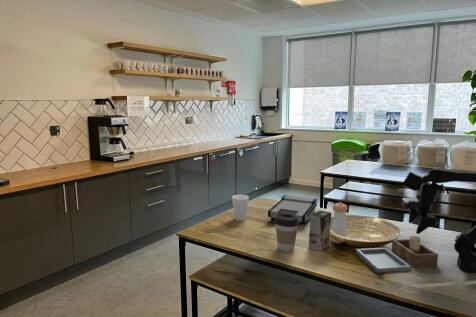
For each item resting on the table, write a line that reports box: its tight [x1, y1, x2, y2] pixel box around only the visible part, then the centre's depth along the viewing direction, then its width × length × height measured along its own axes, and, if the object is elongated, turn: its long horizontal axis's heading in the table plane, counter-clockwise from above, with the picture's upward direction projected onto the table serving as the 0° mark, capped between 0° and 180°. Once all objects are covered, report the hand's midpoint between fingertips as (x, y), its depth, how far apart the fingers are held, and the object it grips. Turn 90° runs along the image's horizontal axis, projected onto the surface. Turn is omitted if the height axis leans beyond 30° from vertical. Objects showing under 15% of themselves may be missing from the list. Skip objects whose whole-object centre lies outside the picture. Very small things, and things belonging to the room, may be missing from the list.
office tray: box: [267, 194, 318, 226], centre depth 200 cm, size 21×32×8 cm, turn 156°
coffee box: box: [308, 210, 332, 252], centre depth 158 cm, size 9×6×16 cm
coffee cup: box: [273, 214, 300, 253], centre depth 156 cm, size 11×11×15 cm
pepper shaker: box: [330, 201, 349, 244], centre depth 165 cm, size 7×7×19 cm
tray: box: [355, 247, 412, 275], centre depth 143 cm, size 18×14×2 cm
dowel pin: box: [409, 235, 421, 254], centre depth 146 cm, size 4×4×9 cm
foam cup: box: [231, 194, 250, 222], centre depth 195 cm, size 10×9×13 cm
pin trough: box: [391, 238, 439, 268], centre depth 146 cm, size 16×10×6 cm, turn 8°
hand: (413, 228), depth 148 cm, fingers open, 9 cm apart
